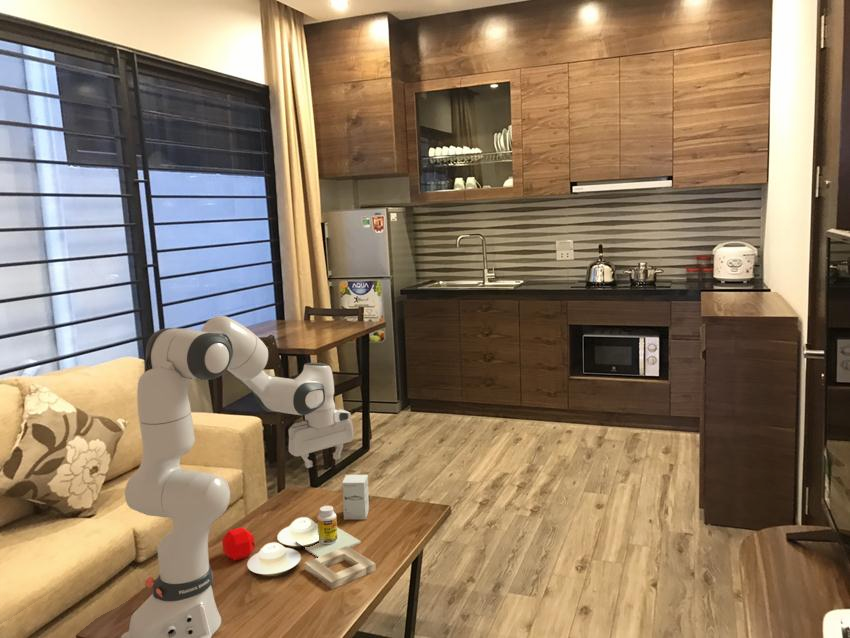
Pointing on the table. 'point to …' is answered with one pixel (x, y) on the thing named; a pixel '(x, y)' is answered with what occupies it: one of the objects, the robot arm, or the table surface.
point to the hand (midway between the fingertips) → (323, 462)
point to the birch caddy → (335, 580)
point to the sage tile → (334, 544)
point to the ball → (238, 543)
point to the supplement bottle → (327, 525)
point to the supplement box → (355, 496)
